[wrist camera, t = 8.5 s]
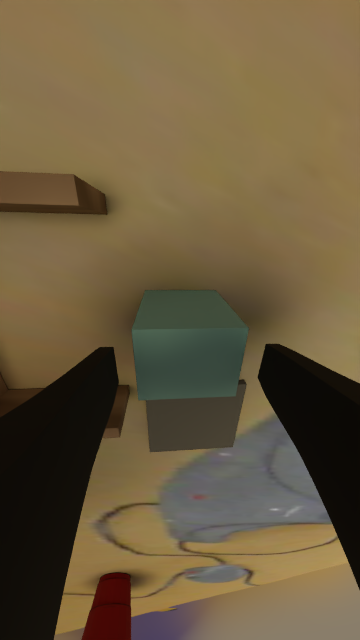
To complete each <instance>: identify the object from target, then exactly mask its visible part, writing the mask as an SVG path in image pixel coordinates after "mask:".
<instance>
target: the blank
mask: <svg viewBox="0 0 360 640" xmlns="http://www.w3.org/2000/svg"><path fill="white" fill-rule="evenodd" d="M248 330H249V328H248V326H247V325H246V324H245V323H244V322H243V321H242V320H241V319H240V317H239V316H238V315H237V314H236V313H235V312H234V311H233V309H232V308H231V307H230V306H229V305H228V304H227V303H226V302H225V300H224V299H223V298H222V297H221V296H220V295H219V294H218V292H217V291H216V290H145V293H144V295H143V298H142V301H141V304H140V307H139V310H138V313H137V315H136V318H135V321H134V324H133V327H132V340H133V350H134V360H135V370H136V380H137V390H138V400H160V399H183V398H207V397H231V396H236V392H237V387H238V381H239V376H240V371H241V366H242V361H243V356H244V350H245V345H246V340H247V335H248Z"/></svg>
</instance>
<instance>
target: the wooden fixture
mask: <svg viewBox="0 0 360 640" xmlns="http://www.w3.org/2000/svg"><path fill="white" fill-rule="evenodd" d="M0 212H36V213H72V214H107V209H106V201H105V194H103V193H102V192H100V191H99V190H97V189H95V188H94V187H92V186H91V185H89V184H88V183H86V182H84V181H83V180H81V179H80V178H78V177H77V176H75V175H73V174H50V173H27V172H3V171H0ZM43 389H45V388H42V389H15V390H8V389H7V387H6V385H5V382H4V380H3V378H2V376H1V374H0V417H1V416H3V415H5V414H6V413H8V412H10V411H11V410H13V409H14V408H16V407H18V406H19V405H21V404H22V403H24V402H26V401H27V400H29V399H30V398H32V397H33V396H35V395H36V394H38V393H39V392H40V391H42V390H43ZM128 398H129V386H128V385H125V386H118V388H117V393H116V397H115V402H114V405H113V408H112V411H111V414H110V417H109V420H108V423H107V426H106V428H105V431H104V434H103V437H102V438H116V437H120V434H121V430H122V425H123V421H124V416H125V412H126V407H127V403H128Z"/></svg>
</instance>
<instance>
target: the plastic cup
mask: <svg viewBox="0 0 360 640" xmlns="http://www.w3.org/2000/svg"><path fill="white" fill-rule="evenodd" d="M130 603H131V583H130V576H129V575H128V574H124V573H112V574H107V575H104V576H102V577H101V578H100V581H99V584H98V586H97V590H96V593H95V597H94V600H93V604H92V607H91V610H90V612H89V616H88V619H87V623H86V626H85V630H84V633H83V636H82V640H131V606H130Z"/></svg>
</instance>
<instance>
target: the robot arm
mask: <svg viewBox="0 0 360 640" xmlns="http://www.w3.org/2000/svg"><path fill="white" fill-rule="evenodd" d="M258 379H259V382H260V384H261V387H262V389H263V391H264V393H265V396H266V398H267V399H268V401H269V403H270V404H271V406H272V408H273V410H274V411H275V413H276V415H277V416H278V418H279V420H280V421H281V423H282V425H283V426H284V428H285V430H286V431H287V433H288V435H289V436H290V438H291V440H292V441H293V443H294V445H295V446H296V448H297V450H298V452H299V454H300V456H301V457H302V459H303V462H304V464H305V466H306V468H307V470H308V472H309V474H310V476H311V478H312V480H313V482H314V484H315V486H316V488H317V491H318V493H319V495H320V497H321V499H322V502H323V504H324V506H325V508H326V510H327V512H328V515H329V517H330V519H331V522H332V524H333V526H334V529H335V531H336V533H337V536H338V538H339V540H340V543H341V545H342V547H343V550H344V552H345V554H346V557H347V559H348V562H349V564H350V567H351V569H352V572H353V574H354V577H355V579H356V582H357V584H358V587H359V589H360V383H357V382H355V381H353V380H351V379H349V378H347V377H345V376H343V375H341V374H339V373H336V372H334V371H332V370H330V369H328V368H326V367H324V366H323V365H321V364H319V363H317V362H315V361H313V360H311V359H309V358H307V357H305V356H303V355H301V354H299V353H297V352H295V351H293V350H291V349H289V348H287V347H285V346H282V345H280V344H266V346H265V350H264V354H263V358H262V362H261V366H260V370H259V374H258ZM118 383H119V380H118V374H117V367H116V361H115V354H114V348H113V347H100V348H98V349H97V350H95V351H94V352H93V353H91V354H90V355H89V356H87V357H86V358H85V359H84V360H82V361H81V362H80V363H79V364H77V365H76V366H75V367H73V368H72V369H71V370H69V371H68V372H67V373H66V374H64V375H63V376H62V377H60V378H59V379H57V380H56V381H54V382H53V383H52V384H50V385H49V386H47V387H46V388H45V389H43V390H42V391H40V392H39V393H38V394H36V395H35V396H33V397H32V398H30V399H29V400H27V401H26V402H24V403H22V404H21V405H19V406H18V407H16V408H14V409H13V410H11V411H10V412H8V413H6V414H5V415H3V416H1V417H0V640H54V635H55V630H56V625H57V620H58V615H59V610H60V605H61V600H62V595H63V591H64V586H65V581H66V577H67V572H68V568H69V563H70V559H71V554H72V550H73V545H74V541H75V536H76V532H77V528H78V524H79V519H80V515H81V511H82V507H83V502H84V498H85V495H86V491H87V487H88V483H89V479H90V475H91V471H92V467H93V464H94V461H95V458H96V454H97V452H98V449H99V446H100V443H101V440H102V437H103V434H104V431H105V428H106V426H107V423H108V420H109V417H110V414H111V411H112V408H113V405H114V402H115V397H116V393H117V388H118Z"/></svg>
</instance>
